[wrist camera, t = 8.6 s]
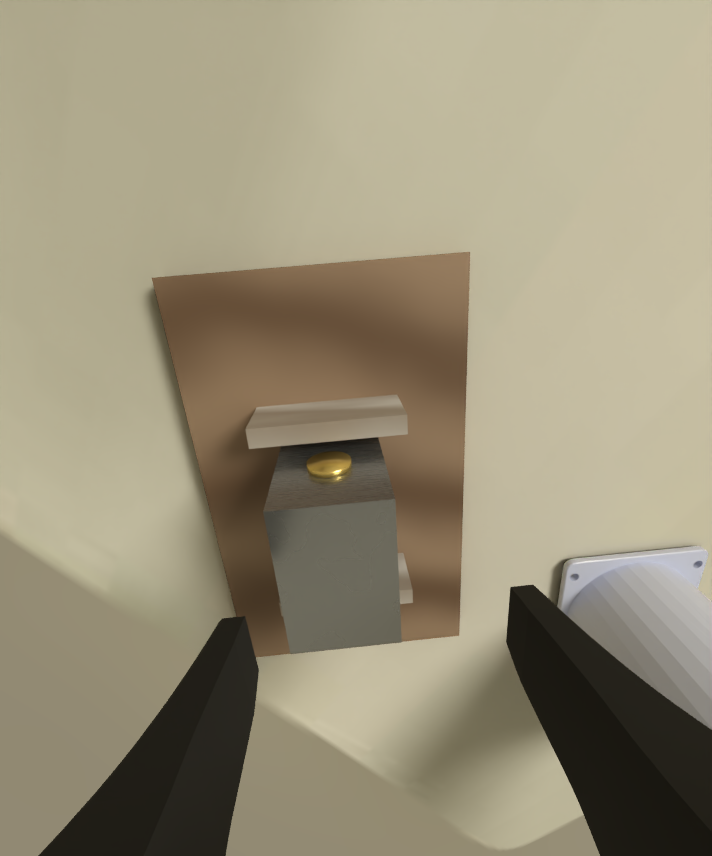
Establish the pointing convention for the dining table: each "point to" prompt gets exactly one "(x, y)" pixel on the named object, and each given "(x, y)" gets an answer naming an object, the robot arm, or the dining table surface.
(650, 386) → the dining table surface
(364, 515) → the block
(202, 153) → the dining table surface
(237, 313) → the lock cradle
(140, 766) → the robot arm
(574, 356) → the dining table surface
